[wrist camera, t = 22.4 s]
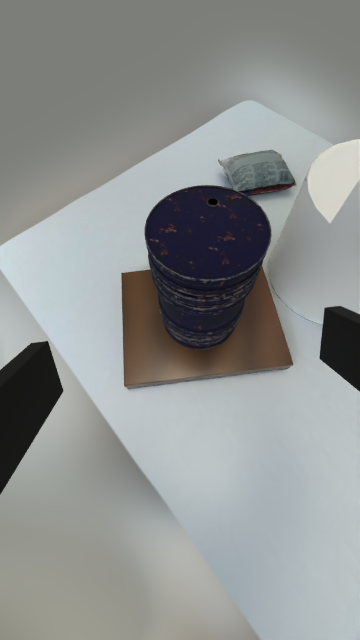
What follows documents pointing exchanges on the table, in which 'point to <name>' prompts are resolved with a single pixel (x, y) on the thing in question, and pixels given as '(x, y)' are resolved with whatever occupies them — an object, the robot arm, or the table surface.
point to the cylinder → (322, 238)
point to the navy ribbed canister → (205, 260)
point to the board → (189, 364)
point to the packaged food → (258, 172)
